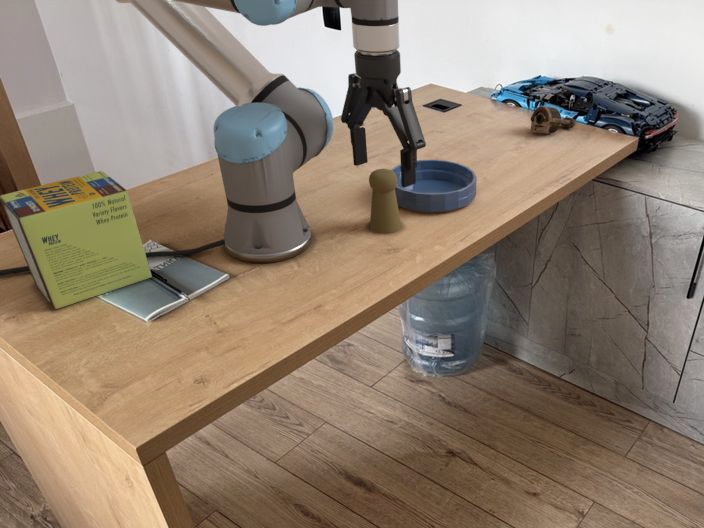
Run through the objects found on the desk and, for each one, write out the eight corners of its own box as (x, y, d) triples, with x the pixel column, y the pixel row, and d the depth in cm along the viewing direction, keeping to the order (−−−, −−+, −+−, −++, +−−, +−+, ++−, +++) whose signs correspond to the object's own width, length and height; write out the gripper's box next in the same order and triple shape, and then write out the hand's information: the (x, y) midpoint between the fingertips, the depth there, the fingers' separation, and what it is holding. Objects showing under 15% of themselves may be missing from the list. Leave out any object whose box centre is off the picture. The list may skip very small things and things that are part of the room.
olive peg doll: (382, 216, 133) (379, 162, 126) (407, 224, 130) (405, 169, 124) (363, 228, 129) (359, 172, 122) (388, 236, 126) (386, 180, 120)
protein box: (154, 277, 112) (128, 189, 103) (55, 310, 103) (17, 218, 94) (128, 254, 118) (102, 169, 109) (33, 284, 109) (-4, 194, 100)
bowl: (429, 224, 131) (429, 202, 128) (370, 195, 141) (369, 174, 138) (493, 197, 141) (494, 177, 139) (433, 172, 151) (433, 153, 149)
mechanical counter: (522, 105, 175) (536, 108, 166) (568, 98, 177) (584, 100, 168) (525, 134, 178) (539, 138, 169) (569, 126, 180) (585, 130, 172)
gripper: (446, 60, 106) (446, 188, 118) (348, 33, 119) (357, 150, 132) (410, 68, 101) (414, 200, 114) (313, 40, 115) (326, 160, 128)
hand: (384, 174), depth 123 cm, fingers open, 13 cm apart
